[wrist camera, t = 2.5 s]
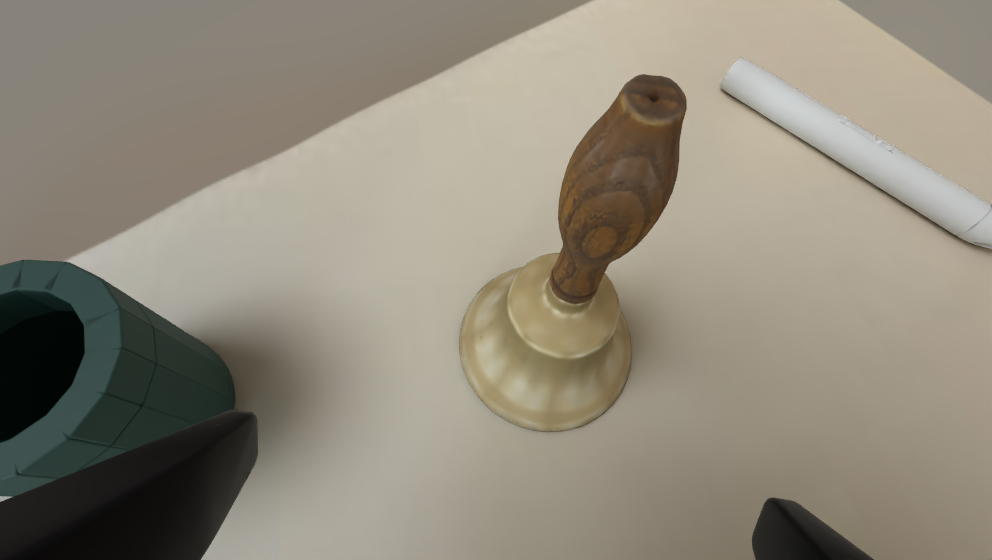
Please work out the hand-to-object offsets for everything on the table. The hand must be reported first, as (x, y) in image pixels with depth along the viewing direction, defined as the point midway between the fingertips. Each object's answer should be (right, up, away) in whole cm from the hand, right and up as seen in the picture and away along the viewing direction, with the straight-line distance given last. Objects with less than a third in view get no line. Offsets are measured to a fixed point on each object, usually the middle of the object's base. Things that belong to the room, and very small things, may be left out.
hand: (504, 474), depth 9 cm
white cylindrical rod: (+21, +10, +21) cm, 31 cm away
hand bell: (+2, 0, +16) cm, 16 cm away
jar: (-15, -3, +13) cm, 20 cm away
